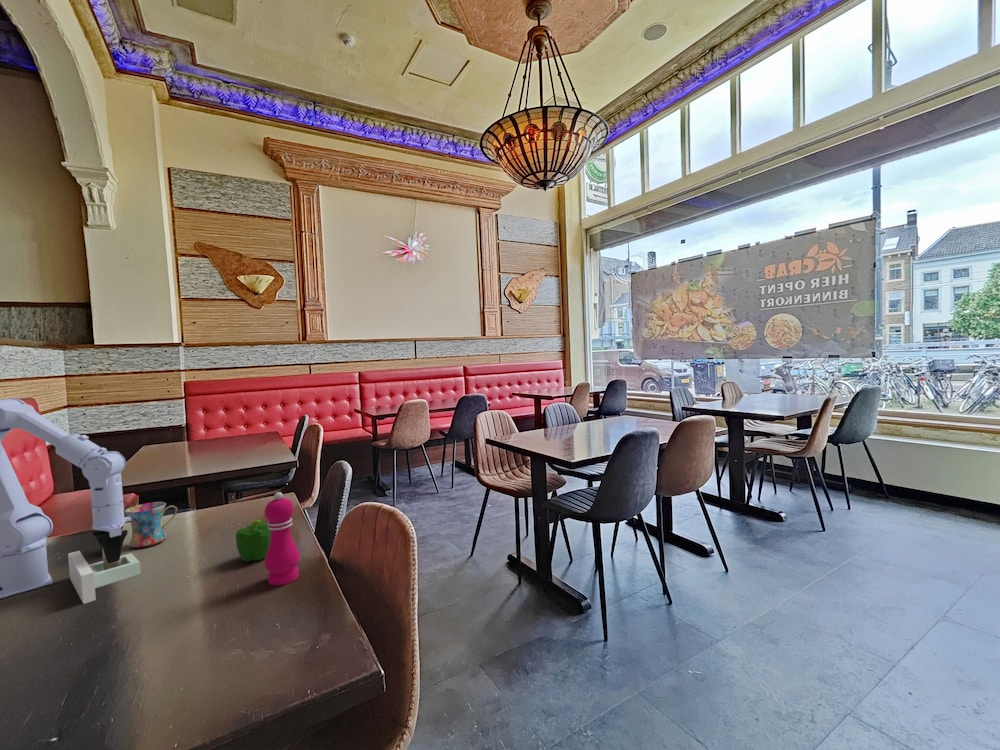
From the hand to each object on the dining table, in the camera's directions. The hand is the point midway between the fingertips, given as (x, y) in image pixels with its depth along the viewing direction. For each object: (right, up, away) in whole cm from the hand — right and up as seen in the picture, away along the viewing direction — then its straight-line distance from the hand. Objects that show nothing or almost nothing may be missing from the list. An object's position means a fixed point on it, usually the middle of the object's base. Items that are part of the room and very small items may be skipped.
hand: (111, 559), depth 110 cm
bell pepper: (+31, -3, +7) cm, 32 cm away
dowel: (0, -3, 0) cm, 3 cm away
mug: (-6, -4, +22) cm, 23 cm away
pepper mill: (+44, -2, -6) cm, 44 cm away
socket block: (0, -4, 0) cm, 4 cm away
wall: (-2, -4, -6) cm, 7 cm away
